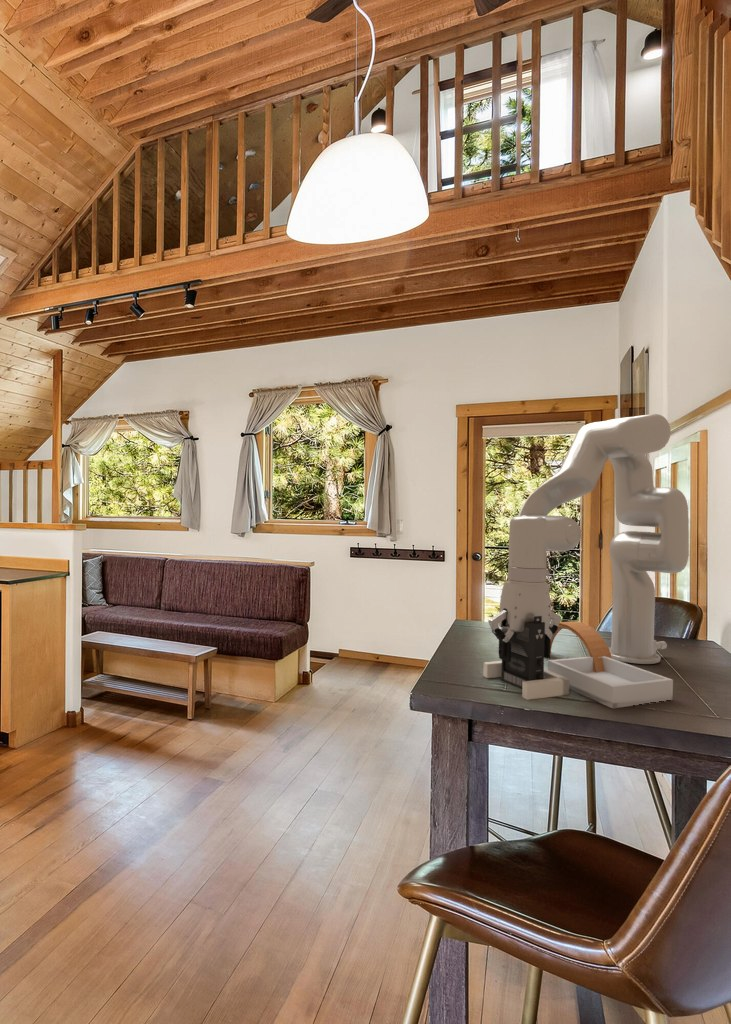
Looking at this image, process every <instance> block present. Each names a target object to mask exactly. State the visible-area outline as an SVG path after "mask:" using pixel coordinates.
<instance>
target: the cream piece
mask: <svg viewBox="0 0 731 1024" xmlns="http://www.w3.org/2000/svg"><path fill="white" fill-rule="evenodd" d="M482 669H483V671H482V672H483V673H482V676H483V677H484V678H486V679H492V678H495V679H496V678H501V672H502V660H496V661H484V662H483V668H482ZM521 690H522V691H521V698H523V699H525V700H527V701H528V700H536V699H544V698H553V697H562V696H569V695H570V689H569V679H567V678H565V677H563V676H560V675H558V674H556V673H553V672H551V671H549V670H547V669H546V668H544V679H542V680H533V681H524V682H522V689H521Z"/></svg>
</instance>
